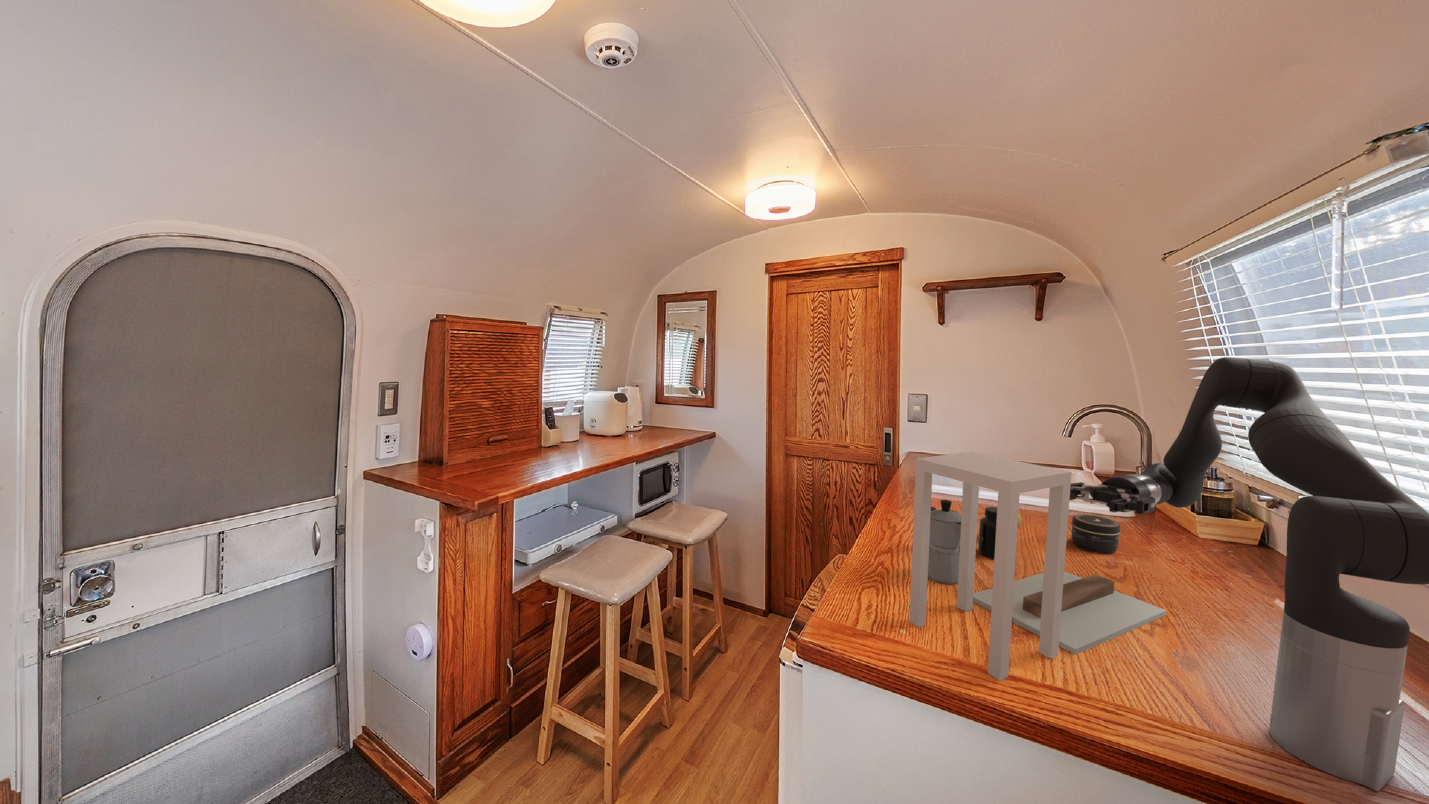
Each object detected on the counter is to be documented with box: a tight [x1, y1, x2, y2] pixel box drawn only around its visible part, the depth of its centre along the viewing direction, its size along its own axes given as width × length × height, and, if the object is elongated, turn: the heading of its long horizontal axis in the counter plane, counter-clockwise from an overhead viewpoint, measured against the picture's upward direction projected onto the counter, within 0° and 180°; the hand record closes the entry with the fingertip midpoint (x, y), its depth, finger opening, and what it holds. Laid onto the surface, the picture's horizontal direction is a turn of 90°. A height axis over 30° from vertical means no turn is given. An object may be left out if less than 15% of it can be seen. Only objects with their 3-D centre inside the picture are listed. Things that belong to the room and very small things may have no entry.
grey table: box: [909, 451, 1073, 682], centre depth 83 cm, size 18×15×32 cm
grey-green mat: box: [973, 570, 1167, 656], centre depth 95 cm, size 20×30×1 cm, turn 114°
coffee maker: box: [928, 499, 962, 586], centre depth 108 cm, size 15×9×18 cm, turn 22°
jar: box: [1071, 513, 1121, 555], centre depth 124 cm, size 10×10×8 cm
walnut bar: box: [1023, 573, 1116, 618], centre depth 95 cm, size 4×24×3 cm, turn 114°
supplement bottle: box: [977, 506, 997, 560], centre depth 119 cm, size 7×7×12 cm
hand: (1086, 500), depth 95 cm, fingers open, 8 cm apart
